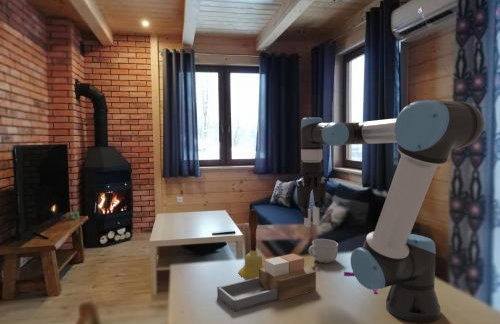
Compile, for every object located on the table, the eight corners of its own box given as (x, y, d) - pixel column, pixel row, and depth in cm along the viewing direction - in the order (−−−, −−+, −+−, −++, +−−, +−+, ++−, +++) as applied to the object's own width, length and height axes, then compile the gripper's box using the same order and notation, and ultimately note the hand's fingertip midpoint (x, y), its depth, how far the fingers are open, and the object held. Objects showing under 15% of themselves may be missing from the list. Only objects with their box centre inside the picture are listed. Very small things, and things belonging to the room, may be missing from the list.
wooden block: (315, 290, 131) (315, 271, 130) (280, 300, 123) (280, 281, 122) (293, 277, 142) (293, 260, 141) (259, 286, 134) (258, 268, 134)
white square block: (288, 273, 129) (288, 261, 129) (274, 276, 126) (274, 264, 126) (278, 267, 134) (278, 256, 134) (264, 271, 131) (264, 259, 131)
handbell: (276, 273, 147) (275, 209, 145) (252, 282, 138) (251, 214, 136) (254, 265, 156) (253, 205, 154) (231, 272, 147) (230, 209, 145)
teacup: (328, 255, 167) (328, 237, 166) (343, 263, 157) (343, 244, 156) (300, 259, 162) (300, 241, 161) (314, 267, 152) (314, 248, 151)
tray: (277, 299, 124) (277, 289, 123) (234, 311, 116) (234, 300, 115) (257, 286, 134) (257, 277, 134) (217, 297, 126) (217, 287, 126)
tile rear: (304, 269, 132) (303, 258, 132) (290, 272, 129) (290, 261, 129) (293, 264, 138) (293, 253, 137) (280, 267, 135) (279, 256, 134)
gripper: (322, 159, 142) (322, 220, 144) (286, 161, 134) (287, 226, 136) (336, 160, 136) (336, 224, 138) (299, 163, 128) (300, 231, 130)
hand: (311, 225), depth 137 cm, fingers open, 3 cm apart
